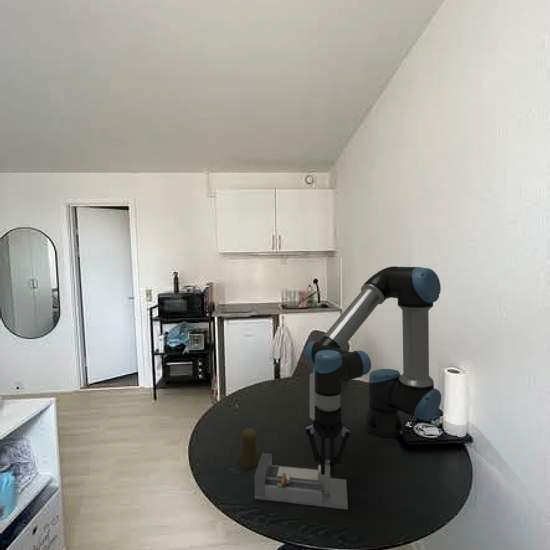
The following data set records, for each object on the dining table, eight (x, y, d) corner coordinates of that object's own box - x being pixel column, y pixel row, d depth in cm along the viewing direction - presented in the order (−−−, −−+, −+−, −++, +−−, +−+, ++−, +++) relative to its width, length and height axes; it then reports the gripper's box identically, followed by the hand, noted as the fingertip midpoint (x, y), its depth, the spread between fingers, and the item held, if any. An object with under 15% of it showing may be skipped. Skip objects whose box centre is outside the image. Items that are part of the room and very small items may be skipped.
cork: (244, 470, 111) (244, 437, 110) (237, 460, 116) (237, 428, 115) (261, 464, 114) (261, 432, 113) (253, 455, 119) (253, 424, 118)
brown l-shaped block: (285, 490, 99) (285, 473, 99) (283, 500, 95) (283, 482, 95) (277, 489, 100) (277, 472, 100) (275, 499, 96) (275, 481, 95)
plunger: (325, 480, 104) (325, 465, 103) (324, 497, 97) (324, 481, 96) (279, 476, 106) (279, 461, 106) (275, 492, 99) (275, 476, 98)
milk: (309, 417, 146) (309, 366, 144) (321, 414, 148) (321, 364, 147) (317, 423, 140) (317, 371, 139) (329, 420, 143) (329, 368, 142)
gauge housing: (346, 482, 104) (346, 460, 104) (347, 509, 94) (347, 485, 93) (262, 474, 109) (262, 452, 108) (254, 498, 98) (254, 475, 97)
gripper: (350, 401, 101) (349, 478, 102) (306, 398, 103) (306, 474, 104) (351, 413, 93) (351, 496, 95) (303, 410, 96) (304, 491, 97)
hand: (327, 484), depth 100 cm, fingers closed
